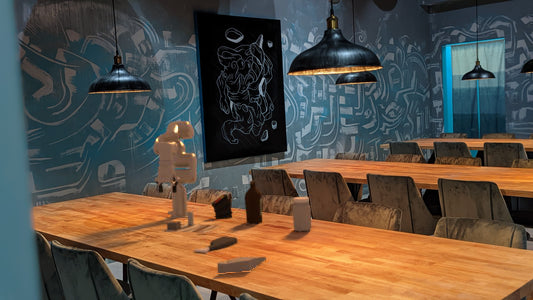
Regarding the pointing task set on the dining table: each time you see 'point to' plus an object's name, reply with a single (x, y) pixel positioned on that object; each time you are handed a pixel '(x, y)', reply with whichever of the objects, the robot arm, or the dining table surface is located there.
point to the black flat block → (222, 207)
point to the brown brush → (218, 244)
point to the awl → (190, 218)
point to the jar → (301, 214)
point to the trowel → (239, 264)
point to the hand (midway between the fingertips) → (167, 192)
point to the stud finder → (174, 225)
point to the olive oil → (253, 204)
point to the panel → (194, 228)
